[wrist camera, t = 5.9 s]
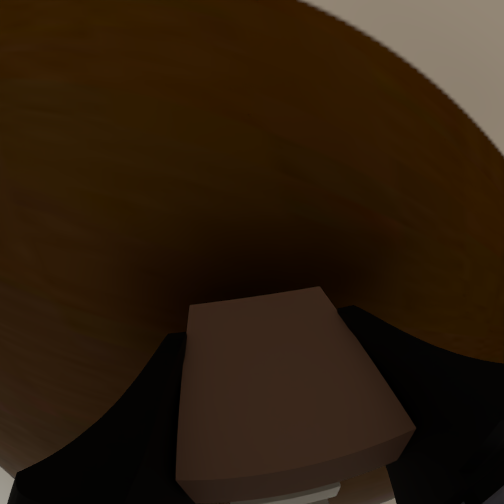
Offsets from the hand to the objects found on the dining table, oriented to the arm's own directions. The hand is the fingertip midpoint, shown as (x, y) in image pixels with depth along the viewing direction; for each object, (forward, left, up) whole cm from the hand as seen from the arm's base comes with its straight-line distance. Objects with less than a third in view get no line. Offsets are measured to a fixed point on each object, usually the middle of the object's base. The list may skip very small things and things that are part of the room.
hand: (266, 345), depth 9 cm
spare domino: (0, 0, -2) cm, 2 cm away
